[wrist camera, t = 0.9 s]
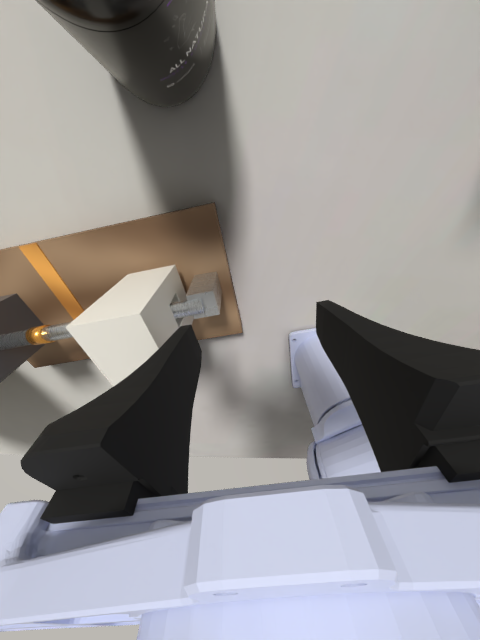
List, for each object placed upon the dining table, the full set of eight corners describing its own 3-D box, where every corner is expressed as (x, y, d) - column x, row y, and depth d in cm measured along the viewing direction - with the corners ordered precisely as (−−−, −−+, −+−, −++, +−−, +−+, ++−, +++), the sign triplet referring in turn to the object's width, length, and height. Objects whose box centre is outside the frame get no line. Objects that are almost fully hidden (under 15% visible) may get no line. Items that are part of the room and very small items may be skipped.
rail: (221, 291, 19) (219, 319, 15) (25, 328, 20) (-24, 362, 17) (216, 271, 18) (212, 295, 14) (9, 311, 19) (-48, 343, 15)
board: (241, 324, 23) (242, 333, 21) (44, 358, 25) (34, 368, 23) (214, 202, 16) (212, 203, 15) (-51, 260, 18) (-73, 266, 17)
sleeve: (194, 316, 19) (175, 380, 13) (153, 323, 19) (115, 389, 13) (175, 264, 16) (139, 313, 10) (128, 274, 17) (65, 327, 10)
